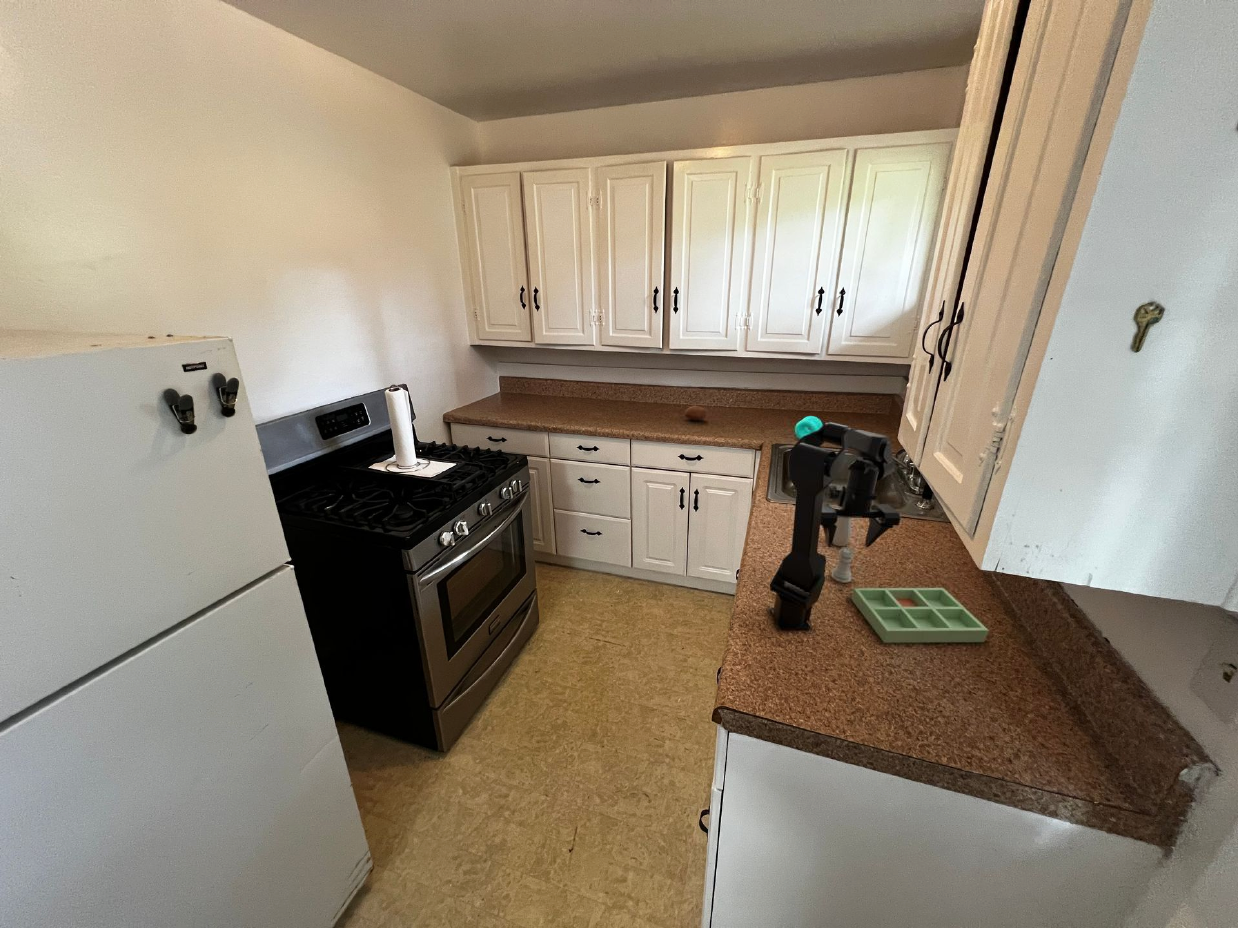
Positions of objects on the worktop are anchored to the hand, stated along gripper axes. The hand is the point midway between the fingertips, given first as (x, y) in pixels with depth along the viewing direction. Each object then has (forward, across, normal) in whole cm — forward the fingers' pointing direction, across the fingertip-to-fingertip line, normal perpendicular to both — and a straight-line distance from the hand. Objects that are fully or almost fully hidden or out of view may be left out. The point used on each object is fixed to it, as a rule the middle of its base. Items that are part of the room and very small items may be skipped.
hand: (847, 546), depth 113 cm
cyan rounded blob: (+9, -34, -108) cm, 114 cm away
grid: (+9, -9, +15) cm, 20 cm away
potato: (+9, +12, -138) cm, 138 cm away
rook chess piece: (+9, 0, 0) cm, 9 cm away
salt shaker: (+9, -7, -17) cm, 21 cm away
